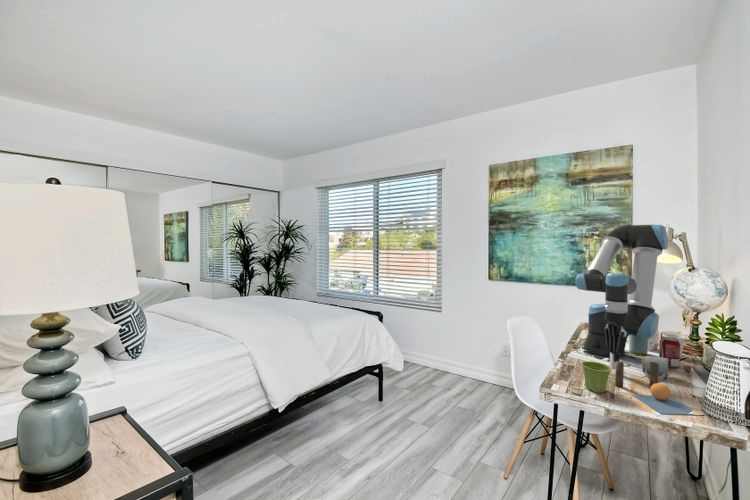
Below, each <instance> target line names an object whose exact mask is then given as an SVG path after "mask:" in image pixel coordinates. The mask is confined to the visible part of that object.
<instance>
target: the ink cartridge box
mask: <svg viewBox="0 0 750 500" xmlns="http://www.w3.org/2000/svg"><path fill="white" fill-rule="evenodd" d="M658 343H659V326H658V327H657V330H656V332H655V334H654V335H653V336H652V337H651V338H648V352H649V351H654V350H658V345H659V344H658Z"/></svg>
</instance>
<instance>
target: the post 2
mask: <svg viewBox="0 0 750 500" xmlns="http://www.w3.org/2000/svg"><path fill="white" fill-rule="evenodd" d="M658 373H659V364H658V363H655V362H650V378H649V387H650V388H651V386H652V385H653V384H655V383H659V380H658Z"/></svg>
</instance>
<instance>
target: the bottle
mask: <svg viewBox="0 0 750 500" xmlns="http://www.w3.org/2000/svg"><path fill="white" fill-rule="evenodd" d="M628 344H629V350H628V351H629V352H630V353H631V354H633V355H638V356H647V355H648V352H649V351H648V338H644V337H637V336H633V335H629V343H628Z"/></svg>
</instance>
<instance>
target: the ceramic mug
mask: <svg viewBox="0 0 750 500" xmlns="http://www.w3.org/2000/svg"><path fill="white" fill-rule="evenodd" d="M650 362H655V363H658V364H659V373H658V381H662V380H663V379H669V367H668V359H667V358H660V357H659V356H650V355H643V357H642V360H641V364H642V365H641V369H642V372H643V373H644V374H645V377H646V378H647V379H650Z"/></svg>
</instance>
